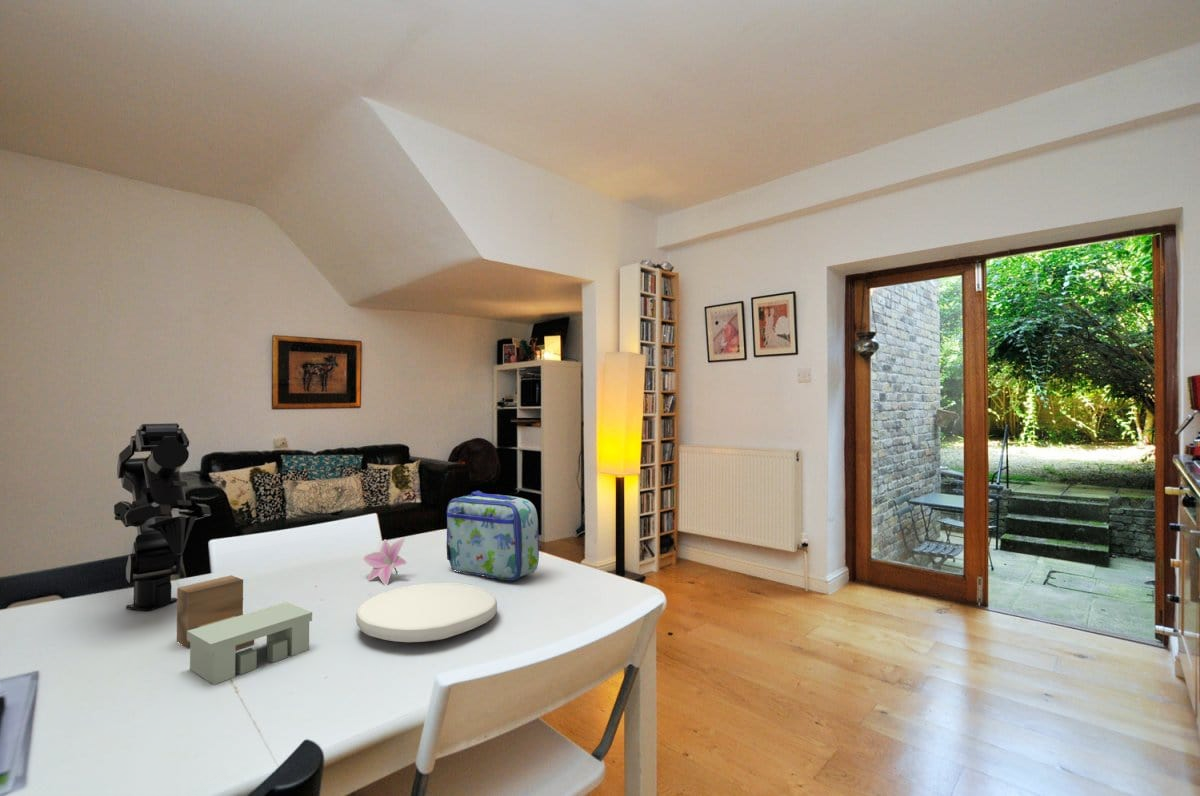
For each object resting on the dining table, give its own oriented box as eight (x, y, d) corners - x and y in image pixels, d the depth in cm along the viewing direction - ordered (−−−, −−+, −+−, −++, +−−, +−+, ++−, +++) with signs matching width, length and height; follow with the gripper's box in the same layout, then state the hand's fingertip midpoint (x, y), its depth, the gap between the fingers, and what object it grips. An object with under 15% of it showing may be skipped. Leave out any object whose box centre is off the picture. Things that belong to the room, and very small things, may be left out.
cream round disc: (407, 574, 127) (516, 583, 122) (405, 603, 127) (515, 613, 121) (325, 604, 100) (460, 616, 95) (322, 641, 99) (458, 656, 94)
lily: (361, 578, 142) (350, 551, 138) (404, 553, 149) (394, 527, 144) (380, 604, 134) (370, 575, 130) (424, 576, 141) (415, 549, 136)
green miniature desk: (186, 670, 90) (186, 630, 91) (286, 636, 104) (286, 602, 104) (210, 685, 85) (210, 644, 86) (311, 648, 99) (312, 612, 99)
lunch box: (439, 571, 146) (440, 492, 146) (469, 561, 155) (469, 487, 155) (514, 588, 132) (515, 501, 132) (542, 576, 141) (542, 495, 141)
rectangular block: (176, 641, 101) (177, 587, 102) (230, 625, 109) (231, 575, 109) (207, 659, 94) (207, 601, 94) (262, 641, 102) (263, 587, 102)
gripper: (150, 495, 122) (164, 564, 119) (86, 491, 104) (101, 572, 101) (205, 479, 124) (219, 546, 121) (151, 472, 106) (167, 551, 103)
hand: (179, 554), depth 112 cm, fingers closed
